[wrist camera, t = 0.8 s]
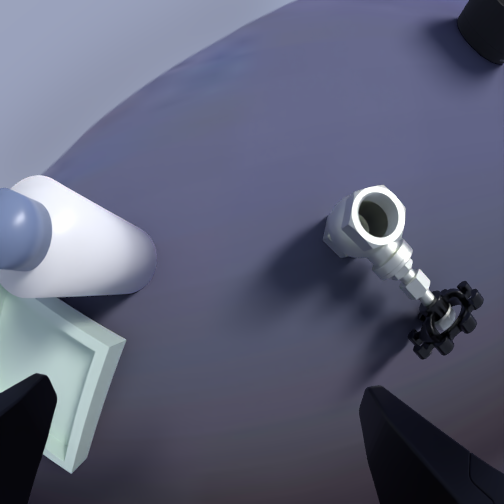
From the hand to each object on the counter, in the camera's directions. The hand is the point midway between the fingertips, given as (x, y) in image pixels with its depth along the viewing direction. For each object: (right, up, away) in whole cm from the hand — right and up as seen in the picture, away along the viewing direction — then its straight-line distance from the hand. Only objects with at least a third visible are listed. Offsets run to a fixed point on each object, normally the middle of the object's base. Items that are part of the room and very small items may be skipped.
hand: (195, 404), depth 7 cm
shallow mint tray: (-15, -5, +14) cm, 22 cm away
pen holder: (+32, +32, +19) cm, 49 cm away
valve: (+11, +3, +16) cm, 19 cm away
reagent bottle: (-8, +3, +15) cm, 18 cm away
